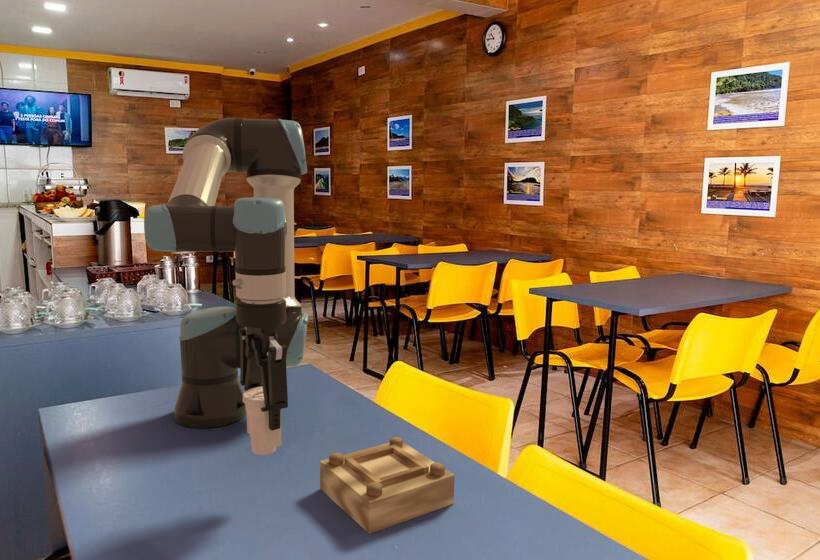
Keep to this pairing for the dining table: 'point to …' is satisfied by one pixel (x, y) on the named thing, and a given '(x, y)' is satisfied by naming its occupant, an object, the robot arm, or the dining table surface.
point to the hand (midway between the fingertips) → (263, 438)
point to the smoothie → (256, 419)
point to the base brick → (386, 484)
